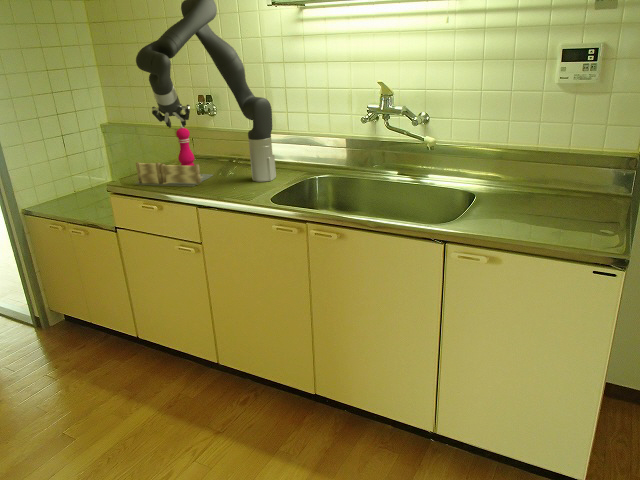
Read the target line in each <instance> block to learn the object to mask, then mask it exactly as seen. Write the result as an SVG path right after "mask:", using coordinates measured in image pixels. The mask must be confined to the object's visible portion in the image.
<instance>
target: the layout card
mask: <svg viewBox="0 0 640 480" xmlns="http://www.w3.org/2000/svg"><path fill="white" fill-rule="evenodd" d="M213 176H214V174H211V173H210V174H208V173H206V174H205V173H202V174H201V173H200V177H201V183H203V182H204V181H206V180H208V179H210V178H211V177H213ZM134 184H138V186H158V187H159V186H163V187H164V186H166V187H191V188H193V187H195V186H197V185H198V184H197V183H168V182H166V183H162V184H155V183H139V181H136V182H134V183H133V185H134Z"/></svg>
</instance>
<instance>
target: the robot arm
mask: <svg viewBox="0 0 640 480" xmlns="http://www.w3.org/2000/svg"><path fill="white" fill-rule="evenodd" d="M180 10H181V15H182V17H183V18H181V19H180V20H179V21H177V22H176V23H174V24H172V25H171V26H170V27H168V28H167V29H166V30H165V31H164V32H163V33H162V35H161V36H159V38H158V39H157V40H154V41H152V42H151V43H149V44H146V45H145V46H144V47H142V48H141V49H140V50H139V51H138V52H137V54H136V57H135V63H136V66H137V67H138V69H140V70H141V71H143V72H146V73H149V76H148V81H149V84H150V87H151V89H152V92H153V97H154V100H155V101H156V104H157V106H158V107H155V106H152V108H151V114H152V115H153V116H154V117H155V118H156V119H157V121H159V122H160V123H161V122H165V124H166V125H165V126H166V127H168V128H169V129H170V128H172V122H171V119H170V117H176V118H177V119H179V120H180V123H181V124H180V125H182V126H183V127H184V128H186V127H185V126H186V125H187V121H189V120H190V114H191V105H190V104H186V105H183V104H182V103H181V102H180V99H179V96H178V93H177V90H176V87H175V86H174V84H173V81H172V79H171V69H172V67H171V66H172V62H171V59H173V58H174V57H176V56H177V54H178V53H179V52H180V51H181V50H182V48H183V47H184V46H185V45H186V44H187V42H189V40H190V39H192V37H193V36H194V35H195V36H196V38H197V39H198V40H199V41H200V43H201V44H202V46H203V48H204V50H206V52H207V54H208V55H209V56H210V58H211V60H212V62H213V63H214V65H215V67H216V69H217V70H218V72H219V74H220V75H221V77H222V78H223V80H224V82H225V83H226V85H227V86H228V88H229V89H230V91H231V92H232V94H233V96H234V98H235V101H236V102H237V105H238V107H239V110H240V111H241V113H242V115H243V116H244V117H245V118H246V119H247V120H250V121H252V129H249V131H248V132H247V137H248V149H249V157H250V158H249V159H250V169H251V170H250V171H251V178H252V181H253V182H260V183H261V182H269V181H270V182H271V181H273V180H274V179H276V178H277V172H276V170H277V169H276V159H275V158H276V157H275V154H273V144H272V132H273V109H272V106H271V102H270V100H268V99H267V98H266V97H260V96H255V95H254V92H252V89H250V87H249V85H248V82H247V79H246V72H245V71H246V70H245V66H244V63H243V61H242V60H241V58H240V55H239V54H238V53H237V51H236V50H235V48H234V47H233V46H232V45H230V44H229V43H228V42H227V41H225V40H224V39H222V38H221V37H220V36H219V35H217V34H216V33H215V32H214V31H213V29H212V28H211V27H210V25H209V23H210V22H212V21H213V20H214V19H215V18H216V16H217V11H218V9H217V4H216V2H215V0H183V1H182V2H181V5H180ZM182 111H183V112H184V113H185V114H184V113H183V112H182Z"/></svg>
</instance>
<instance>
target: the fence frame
mask: <svg viewBox="0 0 640 480" xmlns="http://www.w3.org/2000/svg"><path fill="white" fill-rule="evenodd" d="M160 164H161V162H156V163H151V162H150V163H149V162H148V163H142V162H140V161H138V162H137V161H136V162H135V166H136V172H137V173H136V174H137V178H138V182H139V183H155V184H162V183H163V179H162V172H161V166H160Z"/></svg>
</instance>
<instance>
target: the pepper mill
mask: <svg viewBox="0 0 640 480" xmlns="http://www.w3.org/2000/svg"><path fill="white" fill-rule="evenodd" d="M175 132H176V133H175V135H176V137H177V138H178V143H179V149H180V150H179V153H178V157H177V158H178V162H179V163H180V165H181V166H194V165H195V163H194V161H195V155H194V152H193V151H192V150H191V147H190V136H191V135H190V134H191V133H190V130H189V129H188V128H186V127H183V126H182V124H180V125H179V128H178V129H177V130H176V131H175Z"/></svg>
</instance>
